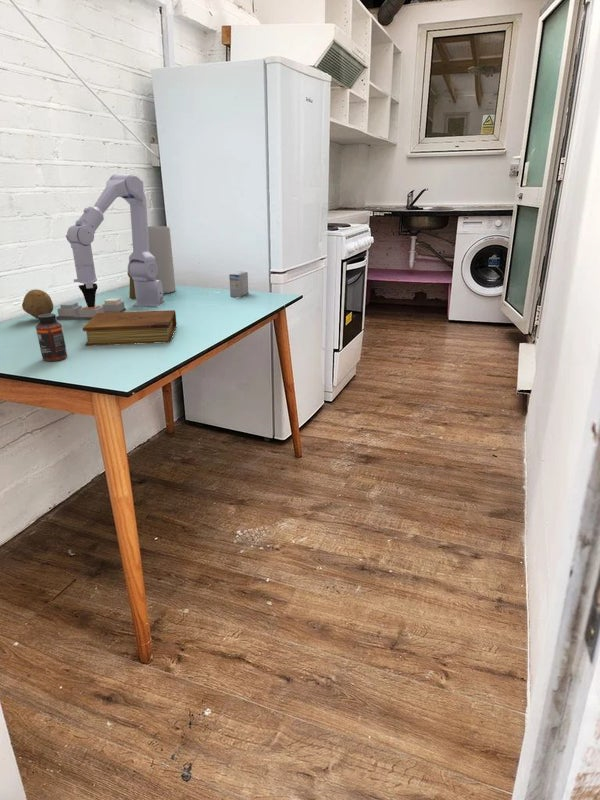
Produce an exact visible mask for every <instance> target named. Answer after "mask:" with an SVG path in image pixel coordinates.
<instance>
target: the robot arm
mask: <svg viewBox="0 0 600 800" xmlns="http://www.w3.org/2000/svg"><path fill="white" fill-rule="evenodd" d="M117 198H121V199H123V200H125V202H126V203H127V204H129V207H130V223H131V224H130V225H131V237H132V241H131V242H132V253H131V254H129V256H128V264H127V274H128V273H129V275H130V276H131V277H132V279H133V280H134V287H135V295H136V299H135V301H136V302H134V303H133V304H132V306H133V307H159V306H160V305H162V304H164V303H165V299H164V297H165V296H164V294H163V288H162V283H161V281H160V280H155V279H156V276H157V274H158V267H157V265H156V261H155V257H154V256H153V255H152V254H151V253H150V252H149V238H148V227H149V223H148V208H147V207H148V206H147V197H146V195H145V191H144V181H143V180H142V179H141V178H140V177H139V176H138V175H137V174H135V173H130V174H117V173H116V174H112V175H110V177H109V179H108V180H107V181H106V182H105V188H104V189H103V191H102V192H101V194H100V196H98V198H97V201H96V202H95V204H94V205H93V206H87V207H86V208H85V207H84V209H83V213H82V214H81V216H80V217H79V218H78V220H76V221H75V225H72V226H69V227H68V229H67V232H66V234H65V238H66V240H67V241H68V243H69V244H70V248H71V249H72V255H73V262H74V267H75V273H76V278H74V279H73V282H74V283H79V285H78V288H79V290H80V291H81V292H82V293H81V294H82V295H83V298H84V300H85V304H86V306H88V307H95V305H96V293H97V290H98V284H97V283H95V282H97V281H98V278H97V275H96V268H95V263H94V255H93V249H92V243H93V242H94V240H95V233H96V230H97V229H98V228H99V227H100V225H101V224H102V222H103V221H104V220H105V217H104V213H105V212H106V211H107V210H108V209H109V207H110V206H111V205H112V204H113V203H114V202H115V201H116V199H117ZM140 260H143V261H140Z"/></svg>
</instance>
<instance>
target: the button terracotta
mask: <svg viewBox="0 0 600 800" xmlns="http://www.w3.org/2000/svg"><path fill="white" fill-rule="evenodd" d="M100 306H101V305H100V304H99V305H98V304H97V305H96V304H95V307H88V306H87V305H86V306H84V307H82V308H83V309H93V310H95V309H97V308H99V307H100Z"/></svg>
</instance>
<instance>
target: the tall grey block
mask: <svg viewBox="0 0 600 800" xmlns="http://www.w3.org/2000/svg"><path fill="white" fill-rule="evenodd" d="M170 227H171V226H163V225H162V226H160V225H158V226H157V225H156V226H153V225H152V226H148V238H149V252H150V253H151V254H152V255H153V256H154V257H155V261H156V265H157V267H158V274H157V276H156V279H155V280H160V281H161V283H162V288H163V293H167V294H171V293H174V292H175V291H176V281H175V280H176V279H175V270H174V269H175V268H174V267H175V266H174V259H173V249H172V247H173V246H172V236H171V228H170ZM140 261H143V260H140ZM170 292H171V293H170Z"/></svg>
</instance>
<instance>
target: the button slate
mask: <svg viewBox="0 0 600 800" xmlns="http://www.w3.org/2000/svg"><path fill="white" fill-rule="evenodd" d="M78 305H79V304H78V302H70V301H69V302H67V301H66V302H65V303H62V304H60V305H59V306H60V307H61V309H73V308H75V307H78Z"/></svg>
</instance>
